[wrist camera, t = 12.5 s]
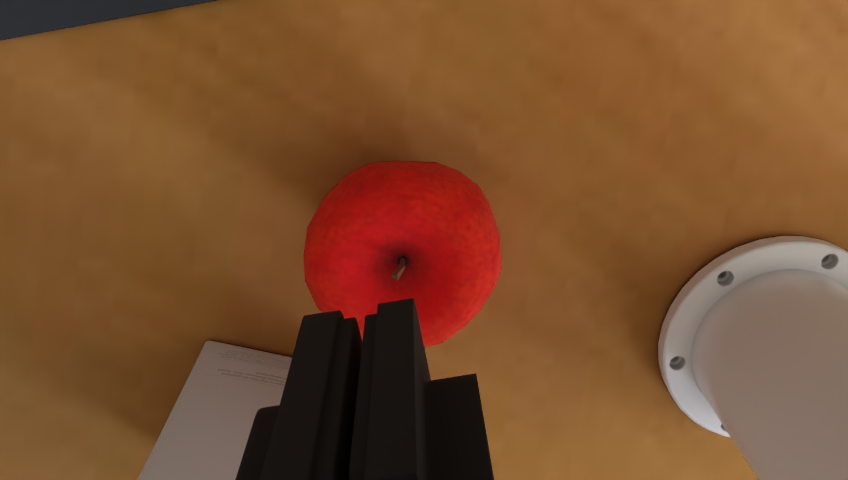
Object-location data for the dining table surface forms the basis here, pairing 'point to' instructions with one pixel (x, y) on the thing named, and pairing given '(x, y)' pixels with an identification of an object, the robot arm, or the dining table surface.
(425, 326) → the apple
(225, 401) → the white product box
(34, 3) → the mat
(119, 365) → the dining table surface
